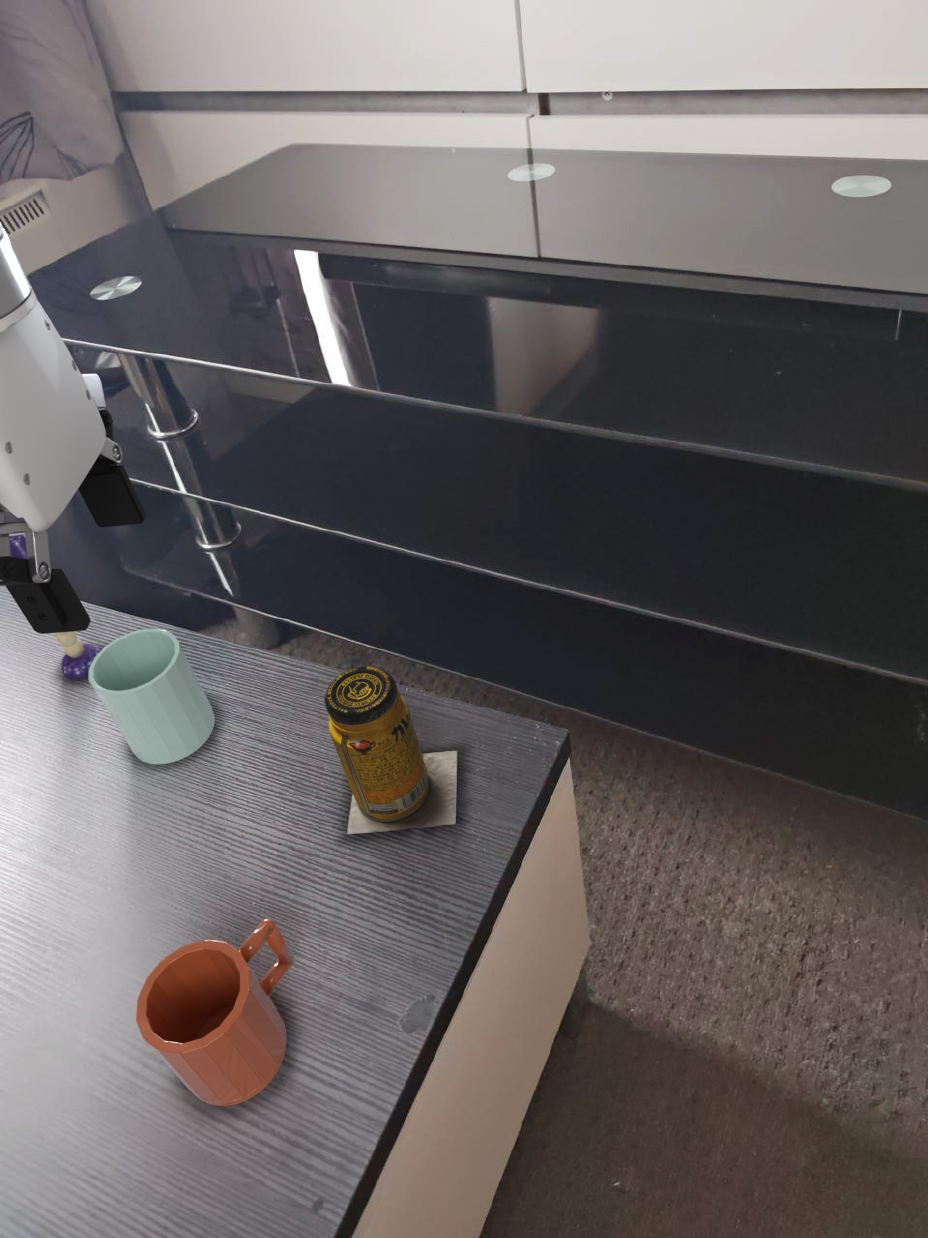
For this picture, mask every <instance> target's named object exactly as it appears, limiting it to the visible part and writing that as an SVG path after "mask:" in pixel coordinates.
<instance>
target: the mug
mask: <svg viewBox="0 0 928 1238" xmlns="http://www.w3.org/2000/svg"><path fill="white" fill-rule="evenodd" d="M265 943H267V945H268V946H269V949H270V950H271V952H272V953H273V956H275V958H276V961H275V962H274V964H272V966H271V967H270V968H269V970H268V971H267V972H266V974H265V975H264V976H263V978H261V979H258V977H257V975H256V973H255V972H254V971H253V969H252V968H251V966H250V964H249V962H251V960H252V959H253V958H254V957H255V955H256V954H257V952H259V950H260V949H261V948H262V947H263V945H264V944H265ZM294 963H295V956H294V954H293V952H292V951H291V948H290V947H289V945H288V943H287V942H286V940H285V938H284V936H283V935H282V933H281V931H280V930H279V928H278V926H277V924H276V922H275V921H274V919H271V918H268V917H267V918H264V919H262V920H261V921H260V923H259V924H258V925H257V926H256V927H255V928H254V930H253V931H252V932H251V933H250V935H249V936H248V937H247V938H246V940H245V941H244V942H243V943H242V944H241V946H239V948H238V949H237V948H235V947H234V946H232V945H231V944H229V943H227V942H225V941H222V940H221V941H220V940H212V939H211V940H210V939H202V940H200V941H196V942H191V943H188V944H184V945H182V946H181V947H179V948H178V949H176V950H175V951H173V952H171V953H170V954H168V955H167V956H165V957H164V958H163V959H161V961H160V962H159V963H158V964H157V966H155V967H154V968H153V970H152V971H151V972H150V973H149V974H148V976H147V977H146V979H145V981H144V983H143V986H142V988H141V990H140V993H139V995H138V997H137V1001H136V1002H137V1003H136V1017H135V1018H136V1019H135V1020H136V1021H135V1022H136V1025H137V1026H138V1030H139V1031H140V1034H141V1037H142V1039H143V1040H144V1042H145V1043H147V1045H148V1046H149V1048H151V1049H152V1051H153V1052H154V1053H155V1054H156V1055H157V1056H158V1057H159V1058H160V1059H161V1060H162V1062H163V1063H164V1064H165V1065H166V1066H167V1067H168V1069H170V1071H171V1072H172V1073H173V1074H174V1075H175V1076H176V1077H177V1078H178V1080H180V1082H182V1083H183V1085H184V1086H185V1087H186V1088H187V1089H188V1090H189V1091H190V1092H191V1093H193V1094H194V1095H195V1097H197V1099H199V1100H200V1101H202V1102H203V1103H206V1104H208V1105H211V1106H216V1107H229V1106H235V1105H238V1104H241V1103H244V1102H246V1101H248V1100H250V1099H253V1097H255V1096H256V1095H258V1094H259V1093H261V1092H262V1091H263V1090H264V1089H265V1088H266V1087H268V1085H269V1084H270V1083H271V1082H272V1080H273V1079H274V1078H275V1077H276V1075H277V1073H278V1072H279V1070H280V1068H281V1066H282V1064H283V1061H284V1058H285V1056H286V1051H287V1045H288V1033H287V1028H286V1025H285V1021H284V1019H283V1017H282V1015H281V1014H280V1012H279V1010H278V1008H277V1006H276V1005H275V1003H274V1002H273V1000H272V999H271V997H270V995H271V993H272V992H273V991H274V989H275V988H276V987H277V986H278V984H279V983H280V982H281V980H282V979H283V978H284V976H286V974H287V973H288V972H289V970H290V969H291V967H292V966H293V965H294Z"/></svg>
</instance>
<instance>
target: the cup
mask: <svg viewBox="0 0 928 1238" xmlns="http://www.w3.org/2000/svg"><path fill="white" fill-rule="evenodd" d="M187 657H188V656H187V655H186V653H185V651H184V649H183V647H182V645H181V643H180V641H179V640H178V639H177V637H176V636H175V635H174V634H173V633H172V632H169V631H167V630H165V629H162V628H145V629H140V630H138V629H137V630H134V631H131V632H129V633H126V634H123V635H121V636H119V637H117V638H116V639H114V640H113V641H112V642H110V643H108V644H107V645H105V646H104V647H103V648H102V649H101V651H100V652H99V653H98V655H97V656H96V657H95V658H94V660H93V662H92V664H91V666H90V668H89V677H88V678H87V679H88V682H89V683H90V685H91V687H92V689H93V690H94V692H95V693H96V695H97V696H98V698H99V700H100V701H101V702H102V704H103V706H104V708H105V710H106V712H107V713H108V715H109V716H110V717H111V719H112V721H113V722H114V724H115V725H116V727H117V729H118V731H119V733H120V734H121V735H122V737H123V739H124V740H125V742H126V743H127V745H128V747H129V748H130V750H131V751H132V753H133V755H134V756H135V757H136V758H137V759H138V760H140V761H141V762H144V763H146V764H150V765H167V764H172V763H175V762H178V761H180V760H183V759H186V758H187V757H189V756H190V755H192V754H194V753H195V752H196V751H198V750H199V749H201V747H202V746H204V744H205V743H206V742H207V741H208V740H209V738H210V736H211V735H212V733H213V730H214V727H215V724H216V717H215V712H214V711H213V710H214V709H213V707H212V704H211V703H210V701H209V699H208V697H207V695H206V692H205V691H204V689H203V687H202V684H201V683H200V681H199V679H198V677H197V676H196V674H195V671H194V668H193V667H192V664H191V663H190V661H189V659H188V658H187Z"/></svg>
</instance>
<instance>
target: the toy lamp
mask: <svg viewBox="0 0 928 1238" xmlns="http://www.w3.org/2000/svg"><path fill="white" fill-rule="evenodd" d="M9 539H10V550H11V557H17V558H23V559H27V550H26V540H25V535H17V536H9ZM54 634H55V637H56V640H57V641H58V644H60V645H62V649H63V651H64V653H65V654H64V655H63V657H62V660H61V663H60V665H61V666H60V667H61V672H62V674H63V676H64V677H65V679H67V680H70V681H82V680H85V679H89V668H90V666H91V664H92V662H93V660H94V658H95V657H96V656H97V655H98V653H99V652H100V651H101V650H102V649H101V648H100V647H98V646H97V645H95V644H91V643H82V641H81V639H79V638H78V635H77V631H73V632H60V633H54Z"/></svg>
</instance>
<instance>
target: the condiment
mask: <svg viewBox="0 0 928 1238" xmlns="http://www.w3.org/2000/svg"><path fill="white" fill-rule="evenodd" d="M324 706H325V709H326V711H327V714H328V731H329V735H330V738H331V741H332V743H333V745H334V748H335V751H336V754H337V756H338V757H339V760H340V763H341V767H342V770H343V771H344V775H345V777H346V779H347V782H348V786H349V788H350V790H351V802H350V809H349V816H348V824H347V833H346V834H347V835H353V834H354V835H355V834H371V833H383V832H390V831H391V832H393V831H400V830H401V831H403V830H407V829H408V830H409V829H422V828H432V827H439V826H449V825H450V826H451V825H456V822H457V821H456V820H457V819H456V817H457V793H458V792H457V791H458V790H457V785H458V784H457V783H458V750H445V751H439V752H435V751H434V752H428V753H427V752H426V753H423V752H422V749H421V746H420V742H419V740H418V736H417V732H416V729H415V726H414V721H413V718H412V716H411V712H410V709H409V706H408V703H407V702H406V700H405V698H404V697H403V696H402V695H401V693H400V691H399V690H398V684H397V682H396V680H395V679H394V677H393V675H391V673H389V672H388V670H386V669H384V668H381V667H377V666H375V665H361V666H356V667H352V668H349V669H348V670H346V671H344V672H343V671H342V672H341V673H340V674H338V675H337V676H336V677H335V678H334V679H333V680H332V681H330V683H329V685H328V686H327V689H326V692H325V695H324Z"/></svg>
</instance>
